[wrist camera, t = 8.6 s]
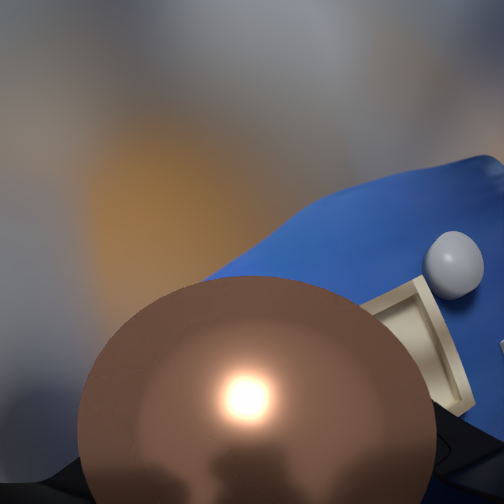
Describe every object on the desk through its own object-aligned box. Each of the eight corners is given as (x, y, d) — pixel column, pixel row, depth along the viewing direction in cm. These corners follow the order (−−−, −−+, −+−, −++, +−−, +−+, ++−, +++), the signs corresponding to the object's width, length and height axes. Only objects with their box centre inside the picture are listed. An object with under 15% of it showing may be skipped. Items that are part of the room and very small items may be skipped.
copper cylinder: (331, 434, 13) (429, 562, 2) (238, 444, 14) (109, 571, 2) (321, 347, 15) (405, 251, 4) (229, 358, 15) (74, 294, 4)
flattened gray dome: (478, 284, 21) (492, 275, 19) (439, 311, 21) (452, 303, 18) (451, 235, 23) (463, 222, 21) (411, 257, 23) (421, 245, 20)
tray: (463, 403, 17) (475, 404, 15) (338, 473, 17) (341, 481, 15) (413, 282, 22) (422, 274, 20) (285, 340, 21) (284, 337, 20)
